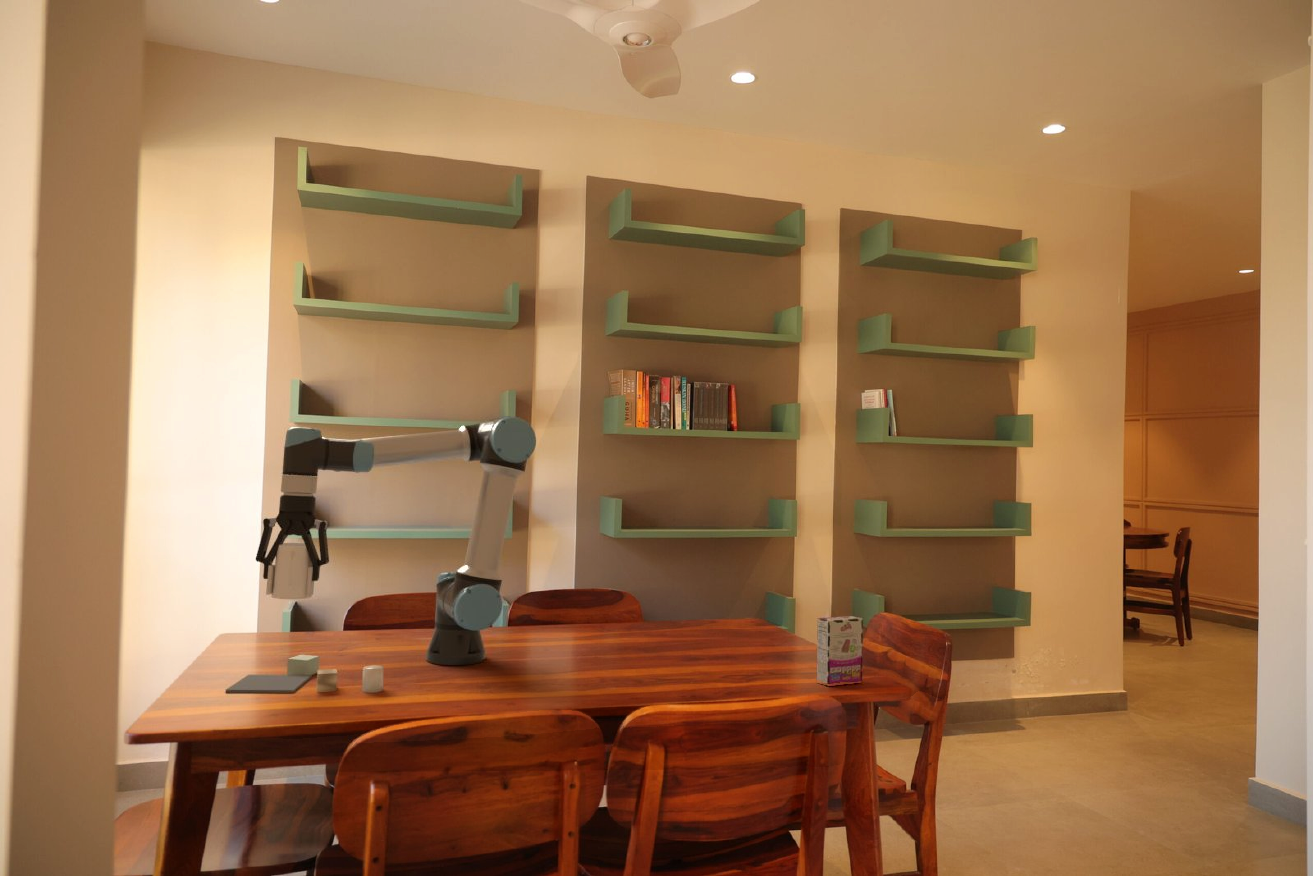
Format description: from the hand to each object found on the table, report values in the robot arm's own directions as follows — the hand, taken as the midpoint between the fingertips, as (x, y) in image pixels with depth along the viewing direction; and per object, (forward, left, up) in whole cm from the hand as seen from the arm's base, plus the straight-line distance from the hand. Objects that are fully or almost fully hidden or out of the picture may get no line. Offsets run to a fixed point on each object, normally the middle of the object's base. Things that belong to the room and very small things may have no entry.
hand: (289, 594), depth 189 cm
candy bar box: (-132, -4, -20) cm, 134 cm away
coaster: (+3, +1, -20) cm, 20 cm away
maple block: (-10, +4, -20) cm, 23 cm away
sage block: (-1, -10, -20) cm, 23 cm away
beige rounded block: (-20, +5, -20) cm, 29 cm away
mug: (0, 0, -1) cm, 1 cm away
